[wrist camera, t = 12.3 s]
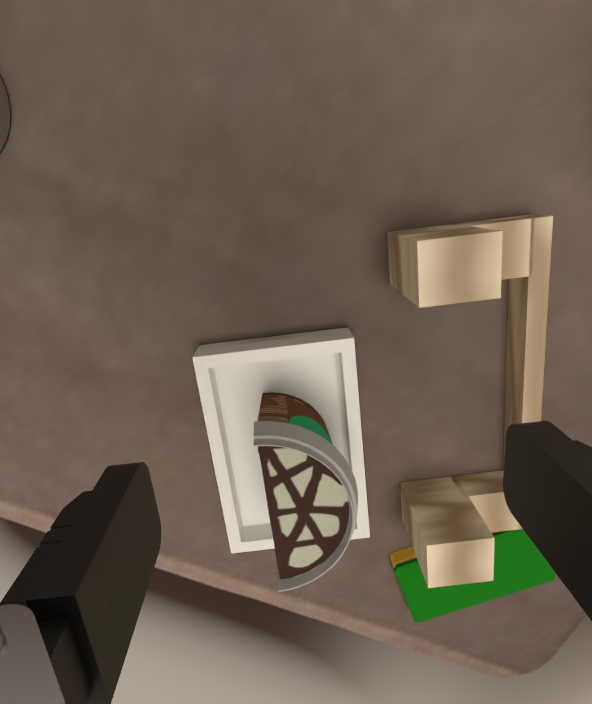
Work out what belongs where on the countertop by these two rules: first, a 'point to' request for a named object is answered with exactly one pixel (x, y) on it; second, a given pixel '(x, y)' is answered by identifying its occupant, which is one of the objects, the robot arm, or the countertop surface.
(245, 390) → the tray
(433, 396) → the countertop surface
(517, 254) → the holder
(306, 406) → the food container
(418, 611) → the dish sponge
